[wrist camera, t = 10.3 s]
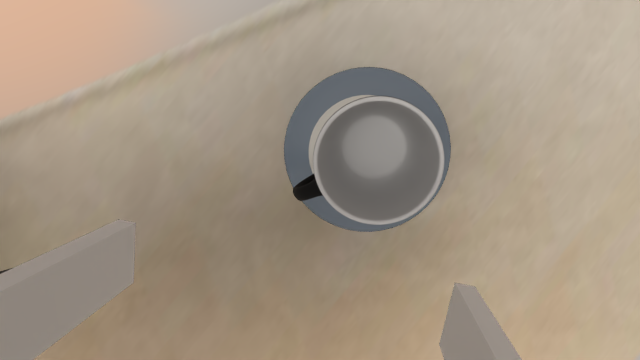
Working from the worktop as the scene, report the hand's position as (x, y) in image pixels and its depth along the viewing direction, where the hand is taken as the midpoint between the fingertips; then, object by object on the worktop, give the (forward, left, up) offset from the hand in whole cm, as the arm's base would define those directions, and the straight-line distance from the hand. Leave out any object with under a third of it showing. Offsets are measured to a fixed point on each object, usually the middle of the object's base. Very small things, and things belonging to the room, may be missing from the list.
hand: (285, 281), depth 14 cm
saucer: (+3, +3, -23) cm, 23 cm away
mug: (+2, +3, -22) cm, 22 cm away
